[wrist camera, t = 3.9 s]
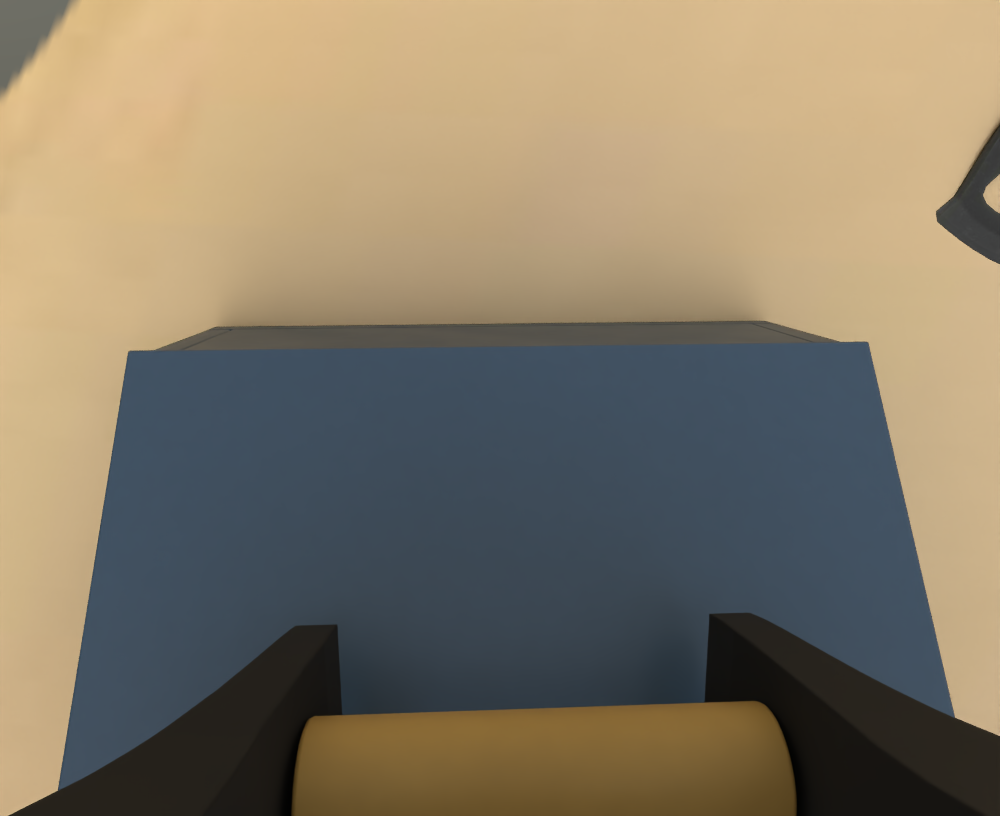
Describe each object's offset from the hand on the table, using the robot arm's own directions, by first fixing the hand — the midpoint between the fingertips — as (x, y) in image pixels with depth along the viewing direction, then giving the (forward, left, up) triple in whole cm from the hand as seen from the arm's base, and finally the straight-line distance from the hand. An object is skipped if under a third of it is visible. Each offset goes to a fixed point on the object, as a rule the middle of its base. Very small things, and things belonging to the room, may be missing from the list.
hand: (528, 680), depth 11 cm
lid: (-2, 0, -1) cm, 2 cm away
